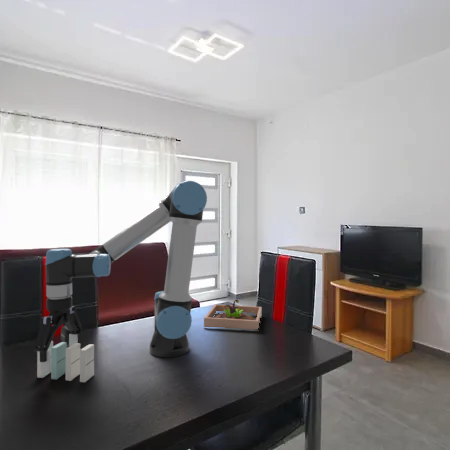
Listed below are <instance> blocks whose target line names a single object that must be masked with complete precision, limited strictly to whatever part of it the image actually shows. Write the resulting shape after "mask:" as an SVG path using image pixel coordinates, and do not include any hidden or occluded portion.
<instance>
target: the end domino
mask: <svg viewBox="0 0 450 450" xmlns="http://www.w3.org/2000/svg"><path fill="white" fill-rule="evenodd" d="M53 346H54V341H53V340H52V341H51V344H50V346H49V348H48V350H50V372H41V362H40V352H39V351H36V355H37V357H36V361H37V363H36V368H37V371H36V376H37V378H39V379H40V378H41V379H43V378H45V377H46V376H48V375H49V374H51V348H52V347H53Z"/></svg>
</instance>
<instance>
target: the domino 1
mask: <svg viewBox="0 0 450 450" xmlns="http://www.w3.org/2000/svg"><path fill="white" fill-rule="evenodd" d="M66 348H67V342H63V341H61V342H59V343H57V344H55V345H53V347H52V348H51V373H50V375H51V376H50V377H51V380H58V379H59V378H60V377H62V376H63V375H65V372H66Z"/></svg>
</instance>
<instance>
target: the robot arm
mask: <svg viewBox="0 0 450 450" xmlns="http://www.w3.org/2000/svg"><path fill="white" fill-rule="evenodd" d="M207 202H208V195H207V192H206V190H205V188H204V187H203V185H201V184H200V183H199V182H197V181H194V180H184V181H181V182H179V183H177V184H176V186H174V187H173V189H172V190H171V191H170V192H169V194H168V195H167V196H165V197H164V198H163V199H162V200H160V201H159V203H158V206H156V207H154V208H153V209H152V210H151V211H149V212H147V213H146V214H144V215H143V216H142V217H140V218H139V219H137V220H136V221H134V222H133V223H132V224H130V225H129V226H127V227H126V228H124V229H123V230H121V231H120V232H119V233H117V234H115V235H114V236H113V237H111V238H110V239H108V240H107V241H105V242H104V243H102V245H100V246H98V247H97V248H95V249H94V250H92V251H91V252H90V253H87V254H84V253H83V254H73V252H72V249H70V248H52V249H48V250H47V251H46V253H45V263H44V266H45V284H46V285H45V287H46V290H45V291H46V292H45V293H46V294H45V296H46V297H47V298H46V302H45V303H46V304H45V305H46V310H47V311H48V312H49V314H48V316H42V317H41V319H40V327H39V331H38V332H37V336H36V340H35V343H34V347H33V352H37V351H39V352H40V362H41V372H50V350H48V348H49V346H50V344H51V341H53V338H54V336H55V334H56V332H57V330H59V329H60V327H63V325H64V326H66V327H67V329H68V330H69V331H70V332H71V333H72V334H69V347H70V346H71V345H73V344H75V343H79V342H78V341H79V335H81V333H82V329H83V326H82V323H81V321H80V318H79V315H78V312H77V306H75V305H73V296H72V295H73V280H72V279H73V278H74V279H76V278H77V279H78V278H101V277H108V276H110V274H111V269H112V268H111V267H112V266H111V265H112V264H113V263H114V262H115V261H116V260H118V259H119V258H121V257H122V256H123V255H125V254H126V253H128V252H129V251H131V250H132V249H134V248H135V247H137V246H138V245H139V244H141V243H142V242H144V241H145V240H147V238H150V236H152V235H153V234H155V233H156V232H157V231H158V232H159V230H161V229H162V228H163V227H165V226H167V225H168V224H169V223H170V222H171V223H172V225H171V233H170V241H169V248H168V249H169V250H168V256H167V264H166V271H165V272H166V273H165V279H164V280H165V281H164V289H163V290H161V291H157V292H155V294H154V299H153V300H154V331H153V335H152V338H151V340H150V344H149V353H150V354H151V355H153V356H155V357H158V358H174V357H175V358H176V357H179V356H182V355H184V354H187V353H188V352H189V350H190V343H189V340H188V337H187V333H188V332H189V331H190V329H191V326H192V321H193V320H192V318H193V317H192V314H191V309H192V305H193V304H192V303H193V297H192V296H191V295H190V292H189V290H190V285H191V284H190V283H191V275H192V267H193V261H194V254H195V253H194V251H195V243H196V235H197V227H198V226H199V225H200V224H201V223H202V221H203V215H204V210H205V208H206V205H207ZM187 351H188V352H187Z"/></svg>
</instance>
